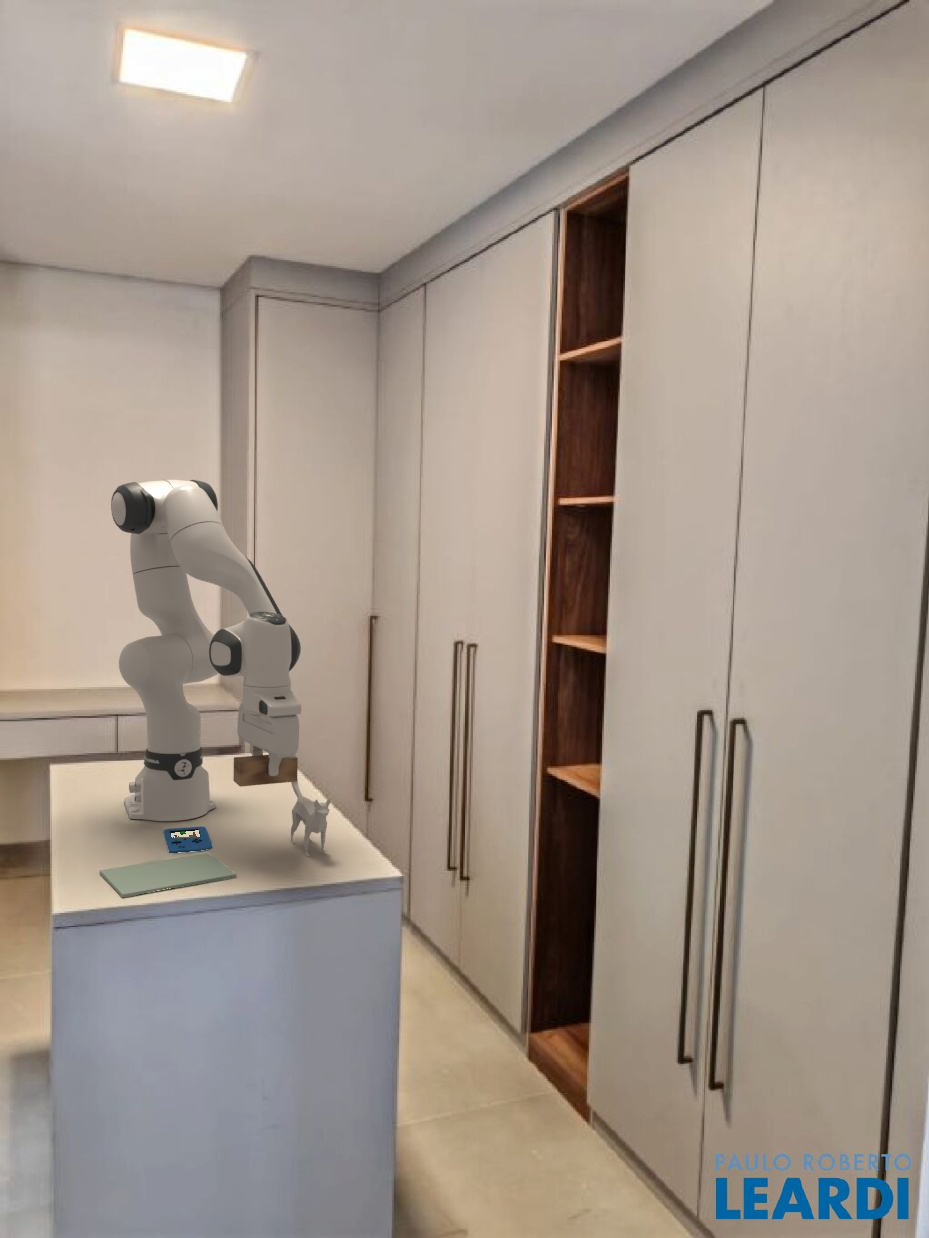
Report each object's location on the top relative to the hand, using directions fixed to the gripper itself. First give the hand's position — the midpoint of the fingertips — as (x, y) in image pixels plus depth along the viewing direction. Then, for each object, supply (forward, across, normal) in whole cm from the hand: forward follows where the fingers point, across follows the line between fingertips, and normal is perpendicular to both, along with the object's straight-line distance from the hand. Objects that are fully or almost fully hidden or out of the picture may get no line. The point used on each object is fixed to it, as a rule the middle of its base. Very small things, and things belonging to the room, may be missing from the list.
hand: (265, 771), depth 191 cm
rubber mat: (+16, +1, -19) cm, 25 cm away
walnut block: (+2, 0, 0) cm, 2 cm away
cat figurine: (+17, -2, +10) cm, 19 cm away
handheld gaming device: (+17, -17, -9) cm, 26 cm away
